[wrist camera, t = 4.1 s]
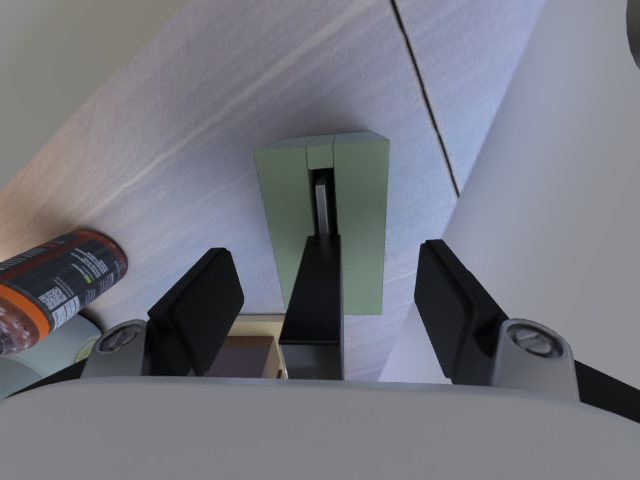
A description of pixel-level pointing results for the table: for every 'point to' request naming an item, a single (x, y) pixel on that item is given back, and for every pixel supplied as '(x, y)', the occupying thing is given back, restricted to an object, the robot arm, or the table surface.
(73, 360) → the air freshener
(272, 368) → the cake
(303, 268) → the knife
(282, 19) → the table surface
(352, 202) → the knife block
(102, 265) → the supplement bottle
